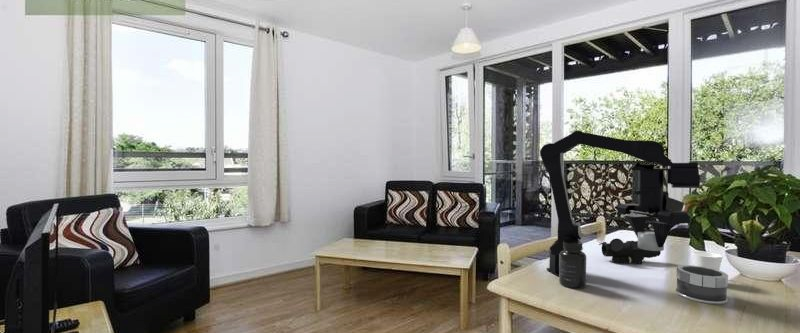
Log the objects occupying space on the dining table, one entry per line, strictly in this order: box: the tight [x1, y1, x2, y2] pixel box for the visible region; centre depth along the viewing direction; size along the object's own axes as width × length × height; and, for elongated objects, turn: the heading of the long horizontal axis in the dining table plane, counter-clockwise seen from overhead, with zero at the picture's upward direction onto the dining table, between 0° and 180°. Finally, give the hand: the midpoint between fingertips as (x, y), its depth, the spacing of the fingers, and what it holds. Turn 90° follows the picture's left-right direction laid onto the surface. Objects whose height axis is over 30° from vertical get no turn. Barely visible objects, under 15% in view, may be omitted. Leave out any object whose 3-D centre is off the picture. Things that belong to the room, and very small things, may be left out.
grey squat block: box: [637, 230, 665, 252], centre depth 103 cm, size 6×6×4 cm
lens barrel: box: [675, 264, 729, 305], centre depth 97 cm, size 10×10×6 cm
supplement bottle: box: [558, 240, 587, 290], centre depth 105 cm, size 7×7×12 cm
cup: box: [691, 250, 723, 271], centre depth 109 cm, size 7×10×8 cm
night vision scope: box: [598, 238, 662, 264], centre depth 127 cm, size 8×18×10 cm
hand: (650, 244), depth 103 cm, fingers closed on grey squat block, 6 cm apart
